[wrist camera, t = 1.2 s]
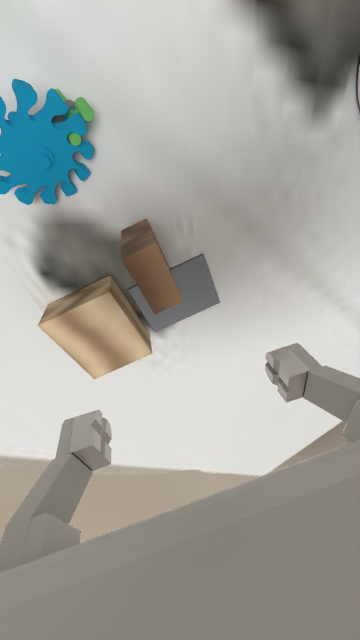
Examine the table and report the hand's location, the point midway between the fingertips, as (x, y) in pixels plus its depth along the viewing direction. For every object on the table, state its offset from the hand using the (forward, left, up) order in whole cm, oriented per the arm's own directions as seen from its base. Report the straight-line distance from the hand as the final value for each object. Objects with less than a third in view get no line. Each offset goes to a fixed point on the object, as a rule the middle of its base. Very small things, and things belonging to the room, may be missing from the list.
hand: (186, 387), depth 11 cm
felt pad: (-1, +10, -24) cm, 26 cm away
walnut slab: (0, +1, -24) cm, 24 cm away
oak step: (+11, +8, -24) cm, 28 cm away
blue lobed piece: (+4, -12, -25) cm, 28 cm away
